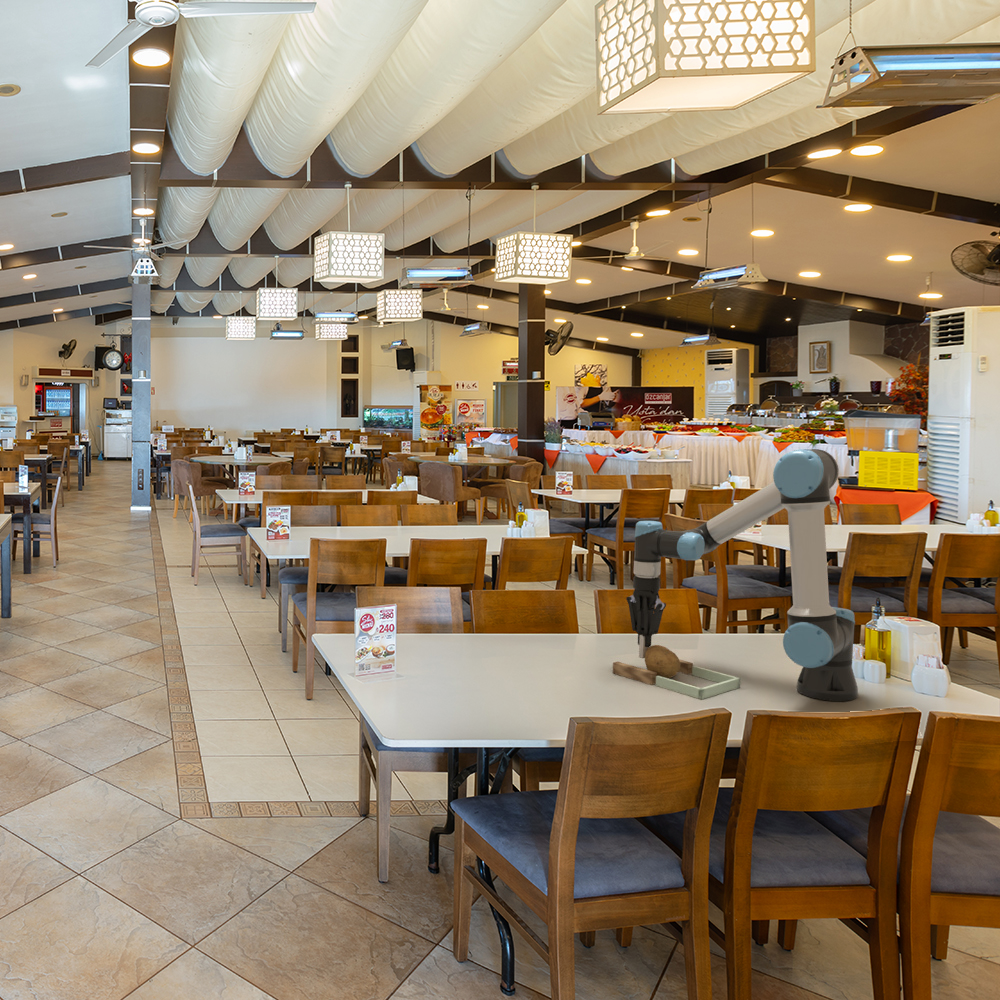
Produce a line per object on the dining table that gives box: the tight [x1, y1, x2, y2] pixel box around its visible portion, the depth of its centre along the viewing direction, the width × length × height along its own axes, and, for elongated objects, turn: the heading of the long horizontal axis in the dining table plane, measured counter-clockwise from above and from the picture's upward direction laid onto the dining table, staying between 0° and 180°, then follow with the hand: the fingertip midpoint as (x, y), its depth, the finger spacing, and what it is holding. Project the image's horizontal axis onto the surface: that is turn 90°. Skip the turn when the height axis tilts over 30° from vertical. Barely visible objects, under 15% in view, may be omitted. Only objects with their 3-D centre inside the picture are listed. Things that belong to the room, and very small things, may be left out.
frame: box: [655, 665, 741, 700], centre depth 235 cm, size 15×17×2 cm
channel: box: [612, 658, 694, 686], centre depth 246 cm, size 14×18×3 cm
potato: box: [644, 644, 680, 679], centre depth 242 cm, size 10×14×8 cm
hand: (643, 657), depth 249 cm, fingers closed
